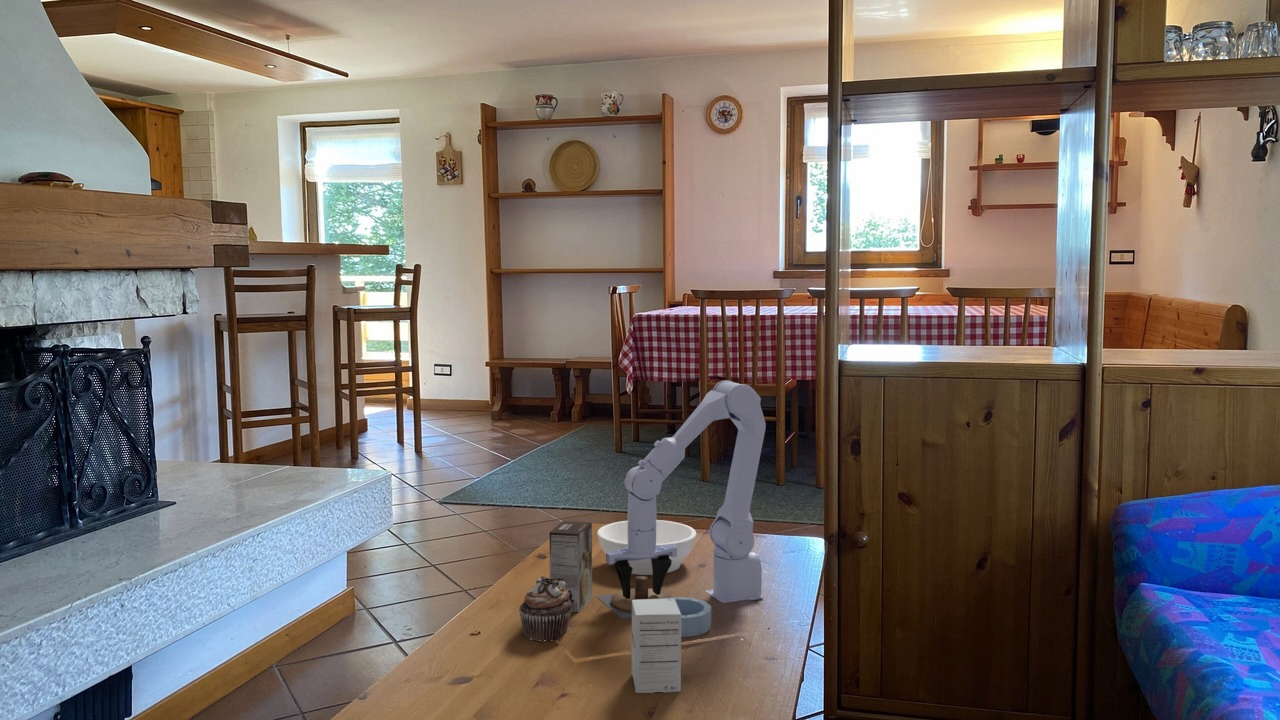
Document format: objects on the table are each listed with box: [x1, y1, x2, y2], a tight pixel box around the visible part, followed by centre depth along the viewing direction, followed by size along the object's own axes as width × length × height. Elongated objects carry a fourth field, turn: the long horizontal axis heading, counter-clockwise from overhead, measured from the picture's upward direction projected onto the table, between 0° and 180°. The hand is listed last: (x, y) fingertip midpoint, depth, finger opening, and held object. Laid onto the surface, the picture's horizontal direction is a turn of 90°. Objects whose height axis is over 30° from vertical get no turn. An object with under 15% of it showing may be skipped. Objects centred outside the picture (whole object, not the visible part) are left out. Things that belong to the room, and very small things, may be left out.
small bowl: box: [665, 596, 712, 638], centre depth 168 cm, size 11×11×4 cm
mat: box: [595, 588, 664, 620], centre depth 180 cm, size 14×14×1 cm
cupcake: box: [518, 576, 572, 642], centre depth 165 cm, size 10×10×10 cm
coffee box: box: [549, 520, 593, 613], centre depth 179 cm, size 9×6×16 cm
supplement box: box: [631, 599, 682, 694], centre depth 144 cm, size 7×7×13 cm
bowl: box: [596, 519, 697, 576], centre depth 205 cm, size 22×22×8 cm
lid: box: [611, 575, 673, 612], centre depth 180 cm, size 12×12×5 cm
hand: (641, 595), depth 180 cm, fingers open, 6 cm apart
